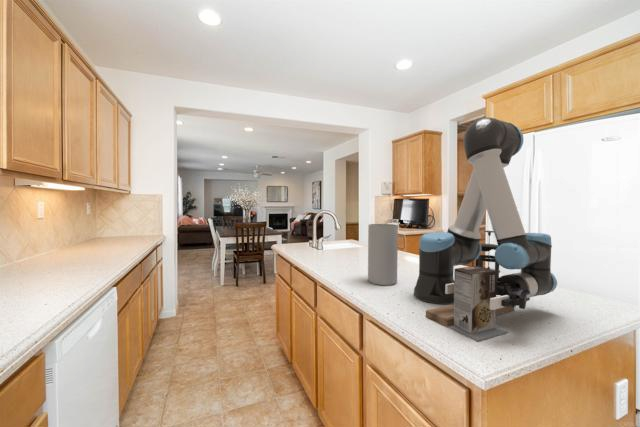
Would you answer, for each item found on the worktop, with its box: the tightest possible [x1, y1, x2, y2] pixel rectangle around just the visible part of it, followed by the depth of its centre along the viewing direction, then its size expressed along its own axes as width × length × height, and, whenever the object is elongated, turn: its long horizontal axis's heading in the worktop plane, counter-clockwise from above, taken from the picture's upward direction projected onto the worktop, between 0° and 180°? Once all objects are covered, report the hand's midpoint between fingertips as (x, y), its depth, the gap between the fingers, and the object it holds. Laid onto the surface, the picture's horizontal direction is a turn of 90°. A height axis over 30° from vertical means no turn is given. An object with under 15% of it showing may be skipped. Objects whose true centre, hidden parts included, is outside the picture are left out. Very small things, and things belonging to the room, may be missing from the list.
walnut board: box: [425, 304, 515, 328], centre depth 90 cm, size 8×30×2 cm, turn 115°
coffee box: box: [453, 265, 497, 334], centre depth 79 cm, size 9×6×16 cm
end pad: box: [447, 325, 509, 342], centre depth 78 cm, size 9×12×1 cm
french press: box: [475, 230, 501, 281], centre depth 122 cm, size 12×9×23 cm
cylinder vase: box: [367, 223, 399, 286], centre depth 126 cm, size 12×12×25 cm
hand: (466, 296), depth 77 cm, fingers open, 13 cm apart
